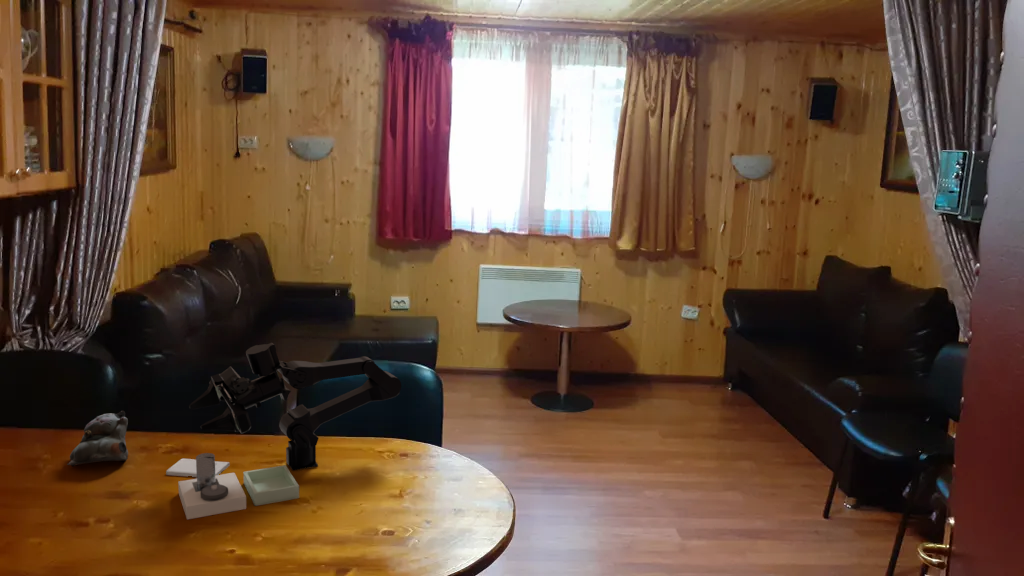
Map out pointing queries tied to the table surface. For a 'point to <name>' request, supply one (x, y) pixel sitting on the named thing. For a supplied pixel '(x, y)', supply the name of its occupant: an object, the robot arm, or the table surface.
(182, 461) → the external hard drive
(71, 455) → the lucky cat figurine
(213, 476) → the pin
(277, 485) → the tray
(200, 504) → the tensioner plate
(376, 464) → the table surface
